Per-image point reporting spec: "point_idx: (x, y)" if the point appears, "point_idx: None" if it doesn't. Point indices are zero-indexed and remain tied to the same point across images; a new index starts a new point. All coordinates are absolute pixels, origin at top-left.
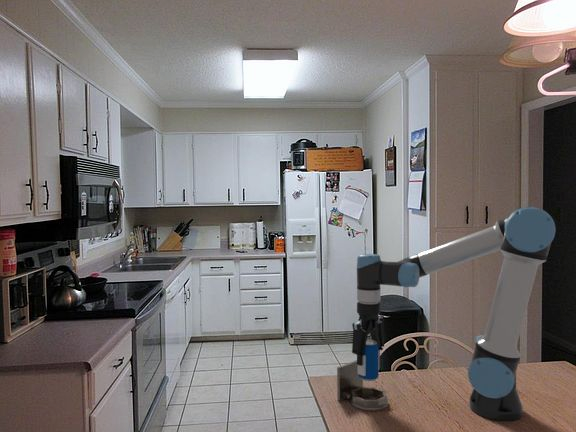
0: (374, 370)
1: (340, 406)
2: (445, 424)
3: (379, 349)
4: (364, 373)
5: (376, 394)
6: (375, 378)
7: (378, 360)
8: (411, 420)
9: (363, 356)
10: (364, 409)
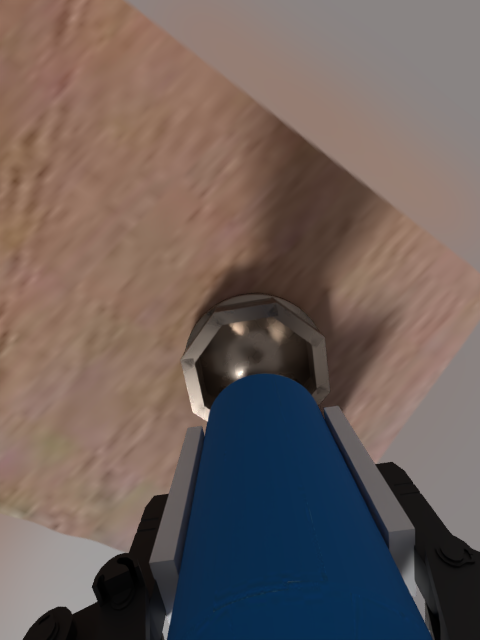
0: (277, 401)
1: (357, 392)
2: (126, 39)
3: (142, 576)
4: (341, 415)
5: (203, 381)
6: (264, 374)
7: (184, 476)
8: (224, 158)
9: (410, 527)
10: (314, 325)
